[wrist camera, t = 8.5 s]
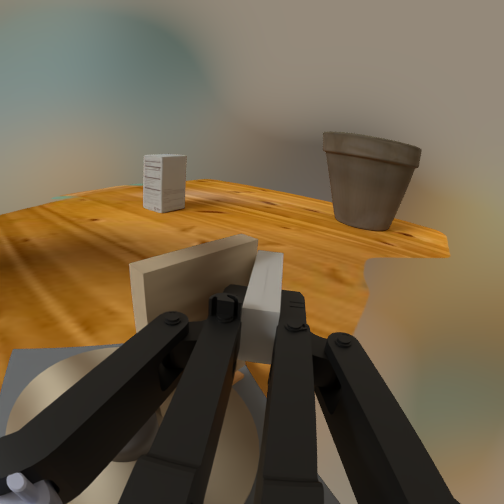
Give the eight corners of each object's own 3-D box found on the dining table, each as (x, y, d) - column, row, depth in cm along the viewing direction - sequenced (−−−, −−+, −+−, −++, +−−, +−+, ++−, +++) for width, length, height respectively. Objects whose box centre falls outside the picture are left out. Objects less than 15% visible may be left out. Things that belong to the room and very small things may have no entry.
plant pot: (300, 220, 67) (311, 125, 60) (325, 205, 88) (334, 135, 81) (407, 246, 57) (426, 146, 50) (405, 224, 78) (417, 151, 71)
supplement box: (165, 203, 73) (167, 153, 68) (185, 208, 69) (188, 155, 64) (142, 208, 67) (143, 154, 62) (160, 213, 63) (162, 155, 59)
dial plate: (16, 358, 18) (11, 346, 17) (224, 339, 25) (225, 327, 25) (2, 574, 2) (-11, 569, 1) (350, 530, 9) (359, 524, 9)
